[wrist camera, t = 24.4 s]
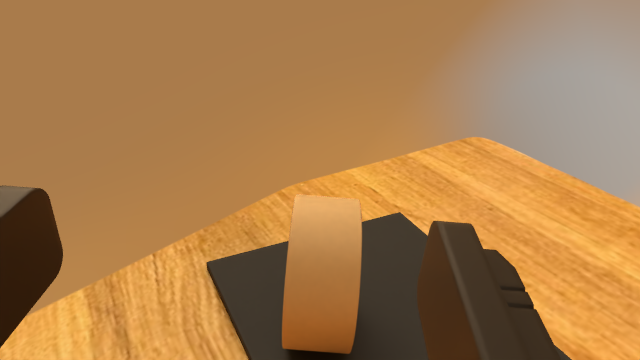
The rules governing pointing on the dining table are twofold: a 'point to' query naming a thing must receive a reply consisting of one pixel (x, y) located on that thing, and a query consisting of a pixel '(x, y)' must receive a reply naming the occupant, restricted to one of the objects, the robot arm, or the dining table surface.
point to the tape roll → (322, 274)
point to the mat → (374, 297)
